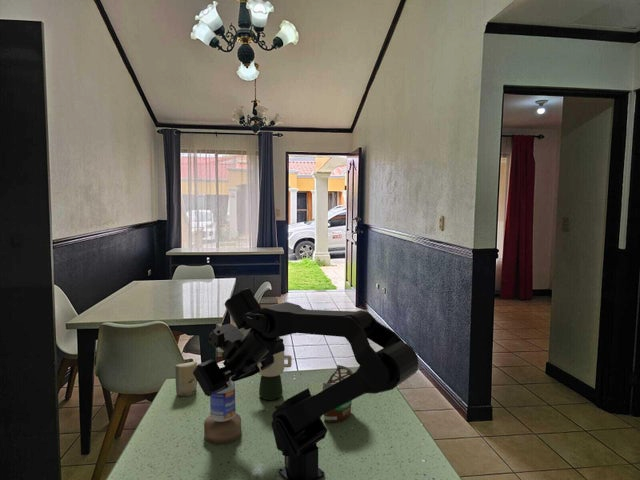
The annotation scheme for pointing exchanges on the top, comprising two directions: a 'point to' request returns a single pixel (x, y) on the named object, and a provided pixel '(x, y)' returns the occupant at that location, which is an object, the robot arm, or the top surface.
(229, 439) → the brown round smooth part
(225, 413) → the pill bottle
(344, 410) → the food container
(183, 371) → the beige rounded block
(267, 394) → the character mug
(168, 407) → the top surface
